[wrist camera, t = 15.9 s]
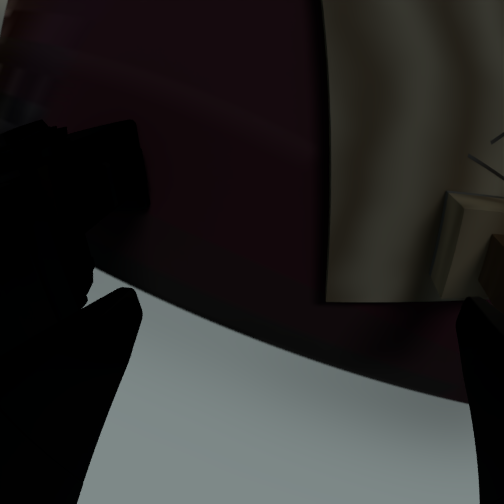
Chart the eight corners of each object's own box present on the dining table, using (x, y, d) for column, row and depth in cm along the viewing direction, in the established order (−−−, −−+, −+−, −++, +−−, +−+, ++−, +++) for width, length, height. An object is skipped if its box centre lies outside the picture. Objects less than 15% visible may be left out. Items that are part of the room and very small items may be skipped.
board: (325, 289, 23) (325, 302, 22) (316, -31, 12) (317, -40, 11) (493, 287, 20) (500, 298, 19) (524, 15, 9) (535, 13, 8)
